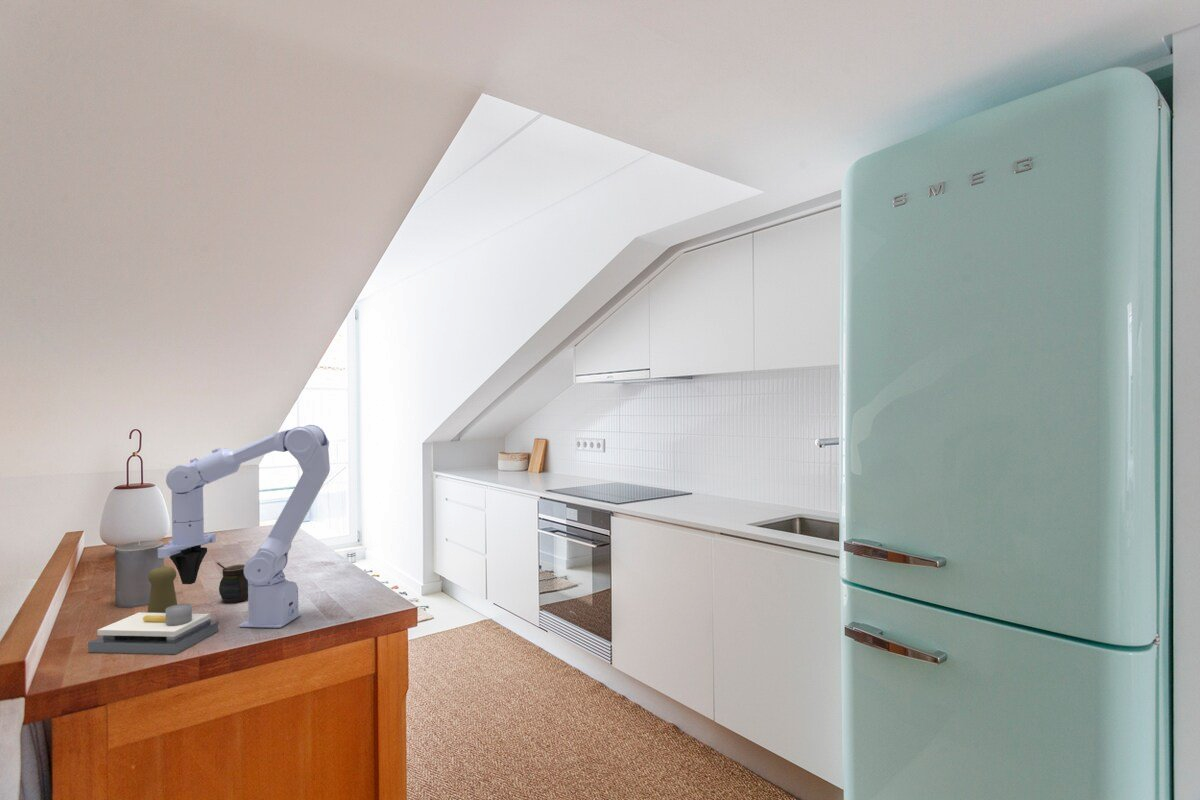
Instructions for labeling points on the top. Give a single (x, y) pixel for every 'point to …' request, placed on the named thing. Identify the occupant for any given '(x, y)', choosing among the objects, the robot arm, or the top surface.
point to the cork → (161, 589)
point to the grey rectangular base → (153, 641)
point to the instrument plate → (157, 623)
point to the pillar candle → (135, 572)
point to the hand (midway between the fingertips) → (188, 583)
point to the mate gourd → (233, 583)
